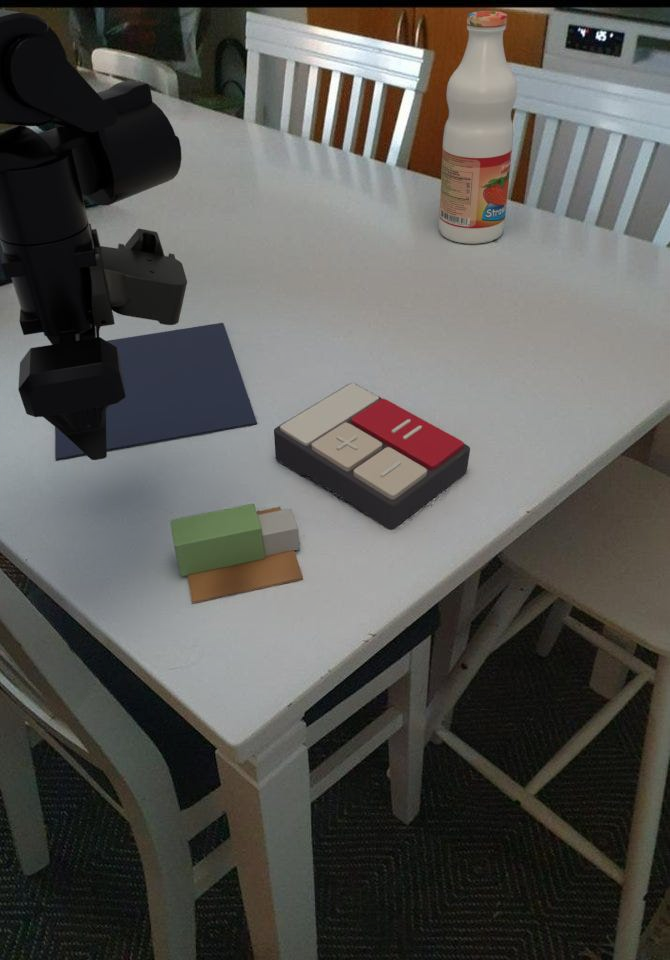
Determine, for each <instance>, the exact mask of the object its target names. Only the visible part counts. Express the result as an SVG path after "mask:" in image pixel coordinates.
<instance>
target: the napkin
mask: <svg viewBox="0 0 670 960" xmlns="http://www.w3.org/2000/svg"><path fill="white" fill-rule="evenodd" d="M227 332H228V331H227V329H226V326H225V323H224V322H217V323H212V324H205V325H199V326H192V327H186V328H180V329H173V330H172V329H171V330H167V331H161V332H160V331H159V332H154V333H148V334H141V335H135V336H128V337H122V338H115V339H110V340H106V341H107V342H109V343H111V344H112V345H114V346H116V347H117V350H118V354H119V358H120V363H121V368H122V373H123V379H124V387H125V395H126V397H125V398H124V399H122V400H121V401H120V402H118V403H116V404H113V405H109V406H108V407H107V409H106V442H107V452H111V451H116V450H123V449H129V448H133V447H139V446H145V445H150V444H156V443H161V442H167V441H171V440H172V441H173V440H177V439H178V440H179V439H183V438H184V439H185V438H188V437H189V438H190V437H194V436H199V435H205V434H210V433H215V432H223V431H226V430H233V429H238V428H243V427H250V426H254V425H258V421H257V419H256V415H255V412H254V409H253V406H252V403H251V401H250V397H249V395H248V391H247V389H246V386H245V383H244V380H243V376H242V374H241V370H240V367H239V365H238V362H237V359H236V356H235V353H234V350H233V347H232V344H231V342H230V338H229V335H228V333H227ZM54 428H55V429H54V444H55V445H54V449H55V450H54V455H55V456H54V458H55V461H61V460H66V459H67V460H68V459H72V458H73V459H74V458H78V457H85V456H87V455H86V454H85V453H84V452H82V451H81V450H80V449H79V448H78V447H77V446H76V445H75V444H74V443H73V442H72V441H71V440H70V439H69V438H67V437H66V436H65V435H64V434H63V433H62V432H61V431H60V430H59V429H57V428H56V427H55V426H54Z"/></svg>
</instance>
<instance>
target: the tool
mask: <svg viewBox="0 0 670 960" xmlns="http://www.w3.org/2000/svg"><path fill="white" fill-rule="evenodd" d="M169 522H170V526H171V527H170V528H171V534H172V541H173V546H174V552H175V555H176V560H177V565H178V569H179V574H180V576H181V577H185V576H187V575H190V574H195V573H200V572H204V571H209V570H214V569H218V568H223V567H228V566H233V565H237V564H242V563H247V562H251V561H256V560H261V559H265V556H268V555H273V554H278V553H283V552H287V551H292V550H294V551H297V550H301V549H300V537H299V527H298V524H297V521H296V519H295V515H294V513H293V510H292V508H286V509H281V510H280V511H275V512H270V513H265V514H261V515H257V507H256V505H255V503H249V504H245V505H240V506H234V507H228V508H224V509H220V510H219V509H218V510H215V511H209V512H205V513H199V514H194V515H190V516H184V517H179V518H175V519H171V520H170V521H169Z"/></svg>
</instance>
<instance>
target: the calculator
mask: <svg viewBox="0 0 670 960" xmlns="http://www.w3.org/2000/svg"><path fill="white" fill-rule="evenodd" d="M273 440H274V454H275V455H274V456H275V459H276V460H277V461H278V462H279V463H281V464H283V465H284V466H286V467H287V468H288V469H290V470H291V471H293V472H294V473H296V474H298V475H299V476H308V477H309V478H311V479H313V480H314V481H316V482H317V483H318V484H319V485H322V486H323V487H325V488H326V489H328V490H329V491H331V492H332V493H334V494H335V495H337V496H338V497H340V498H341V499H343V500H345V501H346V502H347V503H349V504H350V505H352V506H354V507H355V508H356V509H358V510H359V511H361V512H363V513H364V514H366V515H367V516H369V517H370V518H372V519H373V520H374V521H377V522H378V523H380V525H382V526H384V527H386V528H387V529H390V530H394V529H395V528H397V527H398V526H400V525H401V524H402V523H403V522H405V521H406V520H407V519H409V518H410V517H411V516H412V515H414V514H415V513H416V512H418V511H419V510H420V509H421V508H422V507H424V506H425V505H426V504H428V503H430V502H431V501H432V500H433V499H434V498H436V497H437V496H438V495H440V494H441V493H442V492H444V491H445V490H446V489H447V488H449V487H450V486H451V485H452V484H454V483H455V482H456V481H458V480H459V479H461V477H463V476H464V475H466V473H467V472H468V466H469V459H470V452H471V447H470V445H468V444H466V443H465V442H464V441H463V440H461V439H459V438H458V437H456V436H454V435H452V434H450V433H448V432H446V431H445V430H443V429H441V428H440V427H437V426H435V425H434V424H433V423H430V422H428V421H426V420H424V419H423V418H421V417H419V416H417V415H415V414H414V413H412V412H410V411H408V410H406V409H405V408H403V407H401V406H399V405H397V404H396V403H394V402H392V401H390V400H388V399H385V398H383V397H380V396H378V395H377V394H375V393H373V392H371V391H370V390H368V389H366V388H364V387H363V386H361V385H358V384H357V383H355V382H350V383H348V384H346V385H344V386H343V387H341V388H340V389H338V390H337V391H335V392H333V393H331V394H330V395H328V396H327V397H324V398H323V399H320V401H318V402H316V403H314V404H312V405H311V406H310V407H308V408H306V409H304V410H303V411H301V412H300V413H298V414H296V415H294V416H293V417H291V418H289V419H288V420H286V421H285V422H283V423H281V424H280V425H277V427H275V428H274V429H273Z"/></svg>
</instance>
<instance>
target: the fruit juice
mask: <svg viewBox="0 0 670 960" xmlns="http://www.w3.org/2000/svg"><path fill="white" fill-rule="evenodd" d="M507 24H508V14H507V13H506V12H503V11H497V10H479V11H473V12H470V13H468V15H467V18H466V29H467V31H468V39H467V44H466V47H465V51H464V54H463V56H462V58H461V61H460V63H459V65H458V66H457V68H456V69H455V70H454V71H453V73H452V74H451V75H450V77H449V80H448V82H447V86H446V96H445V97H446V103H447V108H448V117H447V120H446V121H445V125H444V129H443V137H442V154H441V155H442V156H441V175H440V179H441V180H440V196H439V216H438V229H439V233H440V234H441V236H443V237H444V238H445V239H446V240H449V241H451V242H455V243H459V244H467V245H468V244H469V245H470V244H471V245H472V244H473V245H474V244H486V243H489V242H492V241H495V240H496V239H498V238H500V237H501V236H502V234H503V233H504V228H505V224H506V223H505V222H506V213H507V202H508V194H509V185H510V172H511V165H512V163H511V162H512V154H513V148H514V147H513V146H514V123H513V121H512V112H513V111H512V110H513V108H514V105H515V103H516V99H517V94H518V82H517V79H516V77H515V75H514V73H513V70H512V69H511V67H510V66H509V64H508V62H507V59H506V53H505V47H504V32H505V30H506V29H507Z"/></svg>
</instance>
